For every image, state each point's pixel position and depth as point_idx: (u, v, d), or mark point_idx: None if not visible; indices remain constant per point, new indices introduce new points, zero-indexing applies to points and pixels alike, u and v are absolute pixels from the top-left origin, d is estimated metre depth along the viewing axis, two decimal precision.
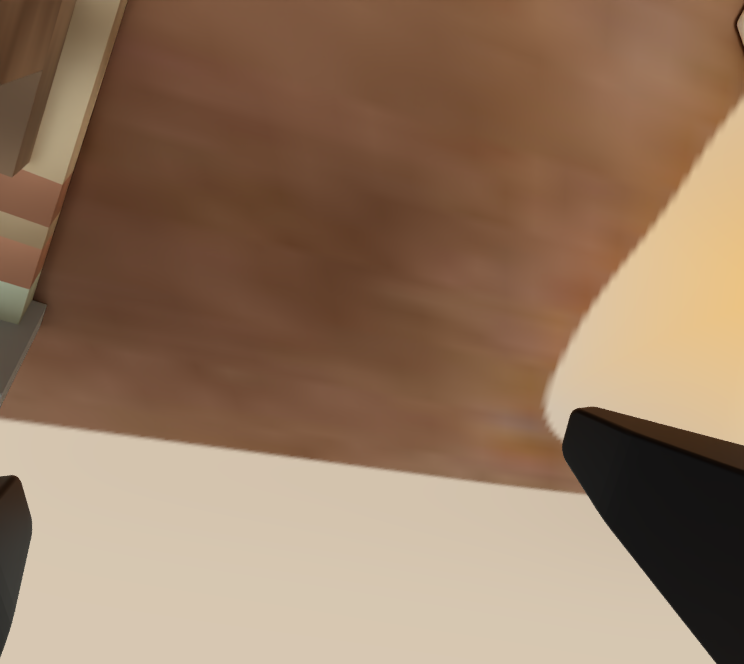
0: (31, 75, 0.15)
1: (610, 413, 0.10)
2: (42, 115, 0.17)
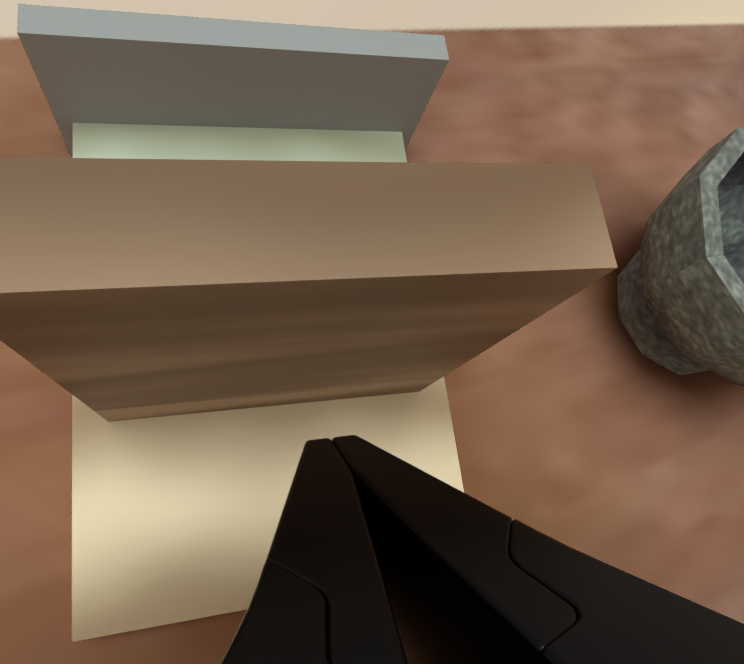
0: None
1: (362, 443, 0.09)
2: None
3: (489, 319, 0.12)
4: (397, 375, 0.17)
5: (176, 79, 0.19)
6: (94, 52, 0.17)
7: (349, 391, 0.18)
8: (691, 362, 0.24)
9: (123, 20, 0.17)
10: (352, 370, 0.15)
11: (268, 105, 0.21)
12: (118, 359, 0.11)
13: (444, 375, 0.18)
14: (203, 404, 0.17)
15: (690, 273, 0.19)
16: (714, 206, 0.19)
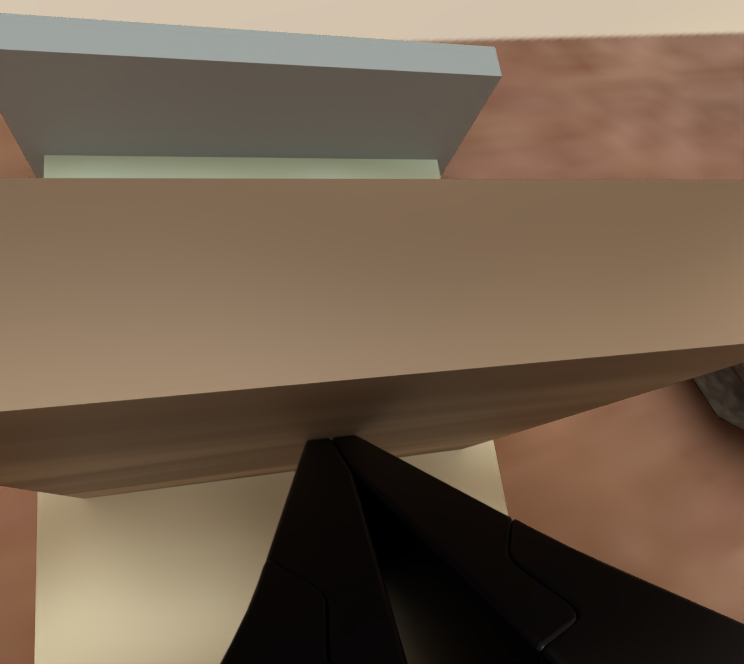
0: None
1: (362, 443, 0.09)
2: None
3: (598, 394, 0.09)
4: (445, 441, 0.13)
5: (169, 102, 0.15)
6: (66, 71, 0.14)
7: None
8: None
9: (102, 31, 0.14)
10: (393, 443, 0.12)
11: (281, 132, 0.17)
12: (77, 463, 0.08)
13: None
14: (201, 479, 0.13)
15: None
16: None
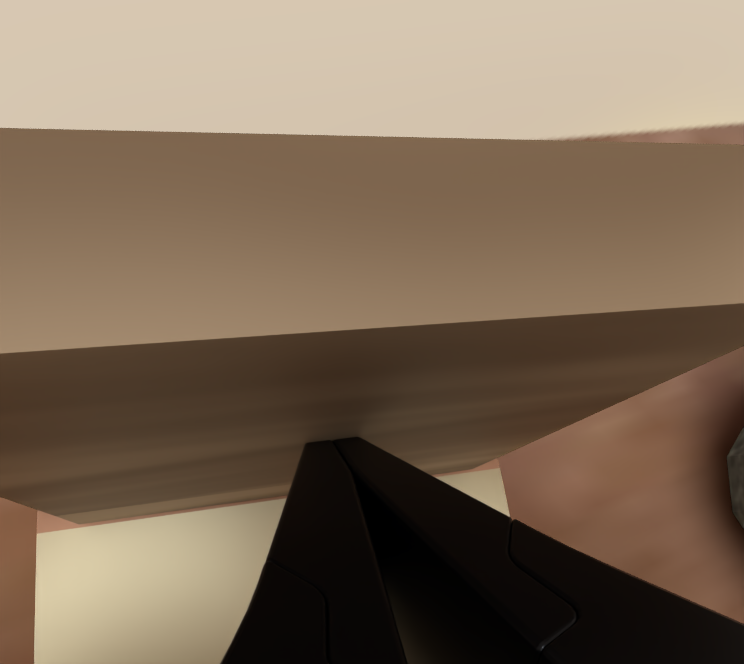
0: None
1: (362, 443, 0.09)
2: None
3: (613, 381, 0.08)
4: (454, 454, 0.13)
5: None
6: None
7: None
8: None
9: None
10: (401, 452, 0.11)
11: None
12: (69, 459, 0.07)
13: (511, 450, 0.14)
14: (202, 499, 0.13)
15: None
16: None
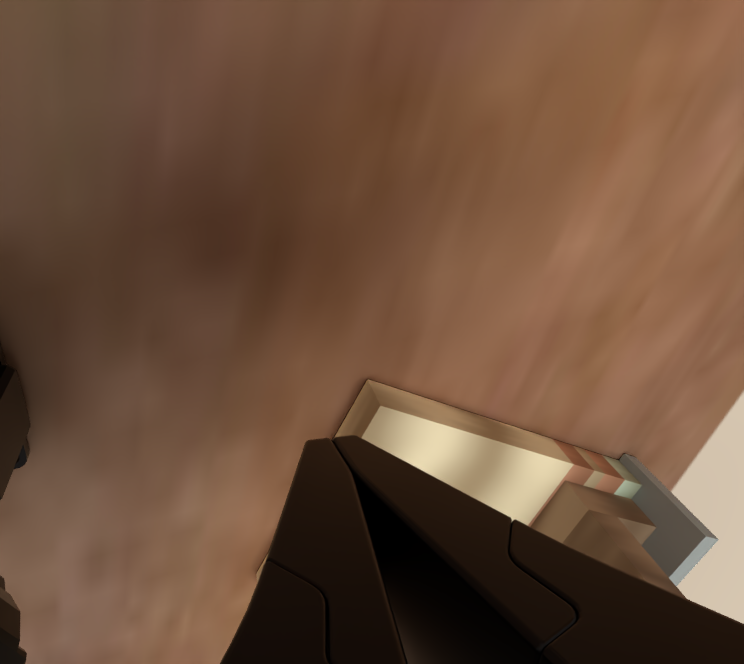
0: None
1: (362, 443, 0.09)
2: (613, 494, 0.30)
3: None
4: None
5: None
6: (671, 555, 0.28)
7: None
8: None
9: (677, 579, 0.28)
10: None
11: None
12: None
13: None
14: None
15: None
16: None
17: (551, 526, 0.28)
